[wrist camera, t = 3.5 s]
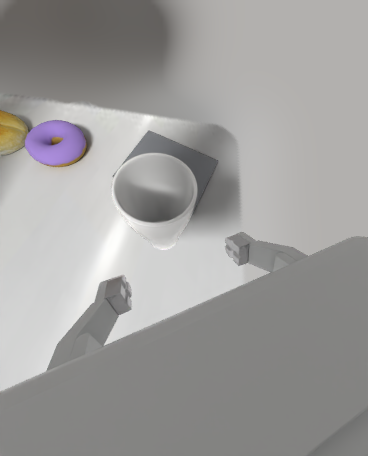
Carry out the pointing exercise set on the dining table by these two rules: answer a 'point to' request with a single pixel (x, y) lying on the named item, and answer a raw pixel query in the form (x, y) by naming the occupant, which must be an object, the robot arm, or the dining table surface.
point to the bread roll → (11, 133)
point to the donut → (56, 143)
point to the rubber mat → (193, 159)
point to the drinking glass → (155, 197)
